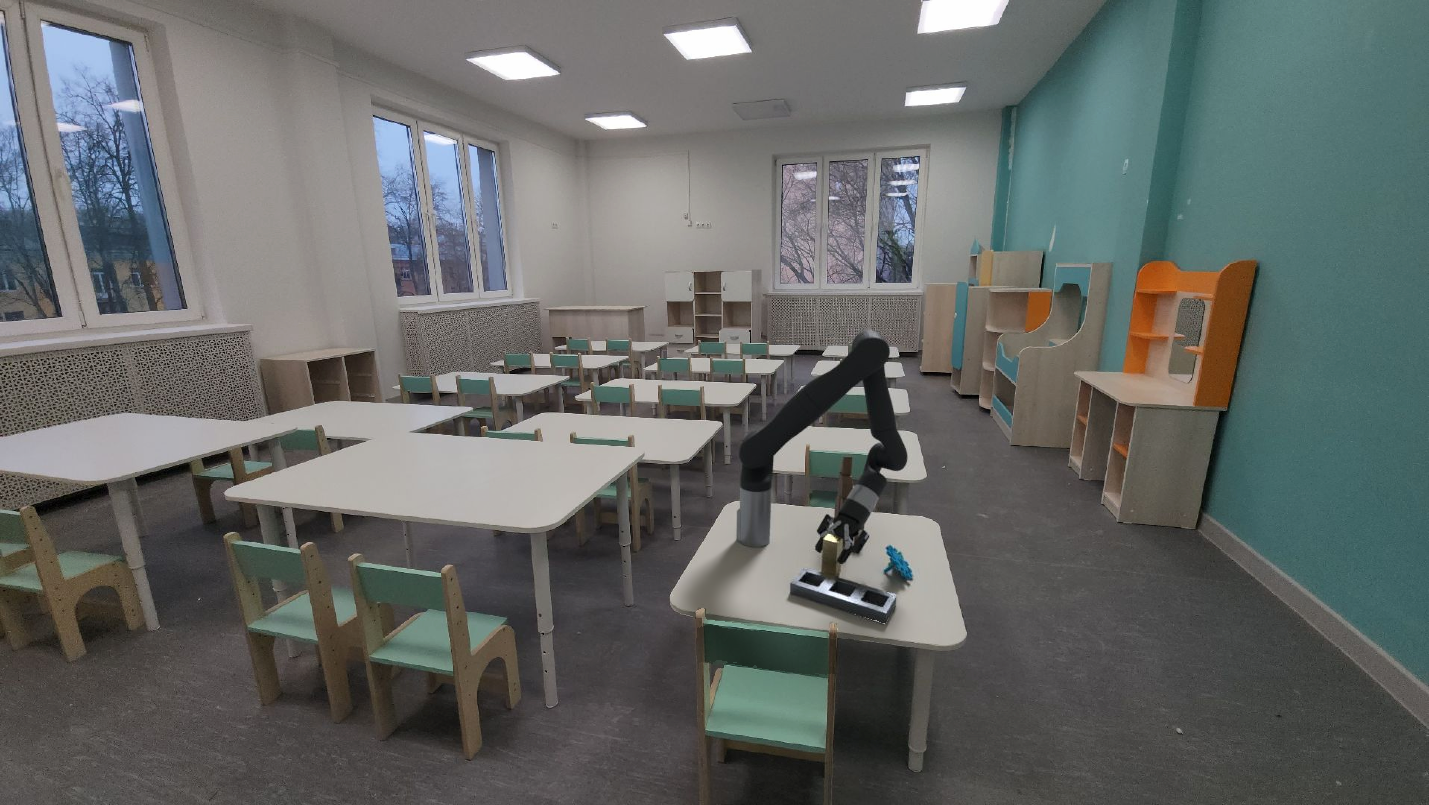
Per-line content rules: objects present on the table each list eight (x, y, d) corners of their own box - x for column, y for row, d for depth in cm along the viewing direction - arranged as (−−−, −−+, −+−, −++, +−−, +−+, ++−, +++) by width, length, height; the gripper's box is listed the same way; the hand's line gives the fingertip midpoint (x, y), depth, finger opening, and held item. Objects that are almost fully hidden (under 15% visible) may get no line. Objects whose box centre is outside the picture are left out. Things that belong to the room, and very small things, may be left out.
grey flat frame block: (789, 593, 145) (790, 582, 144) (804, 577, 152) (804, 567, 152) (885, 624, 133) (886, 613, 132) (895, 605, 140) (896, 594, 139)
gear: (913, 582, 147) (887, 550, 149) (895, 594, 149) (869, 562, 151) (916, 567, 157) (892, 537, 159) (899, 579, 160) (875, 549, 162)
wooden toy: (864, 545, 170) (870, 465, 164) (841, 544, 170) (846, 464, 165) (853, 522, 185) (858, 448, 179) (832, 521, 185) (837, 447, 180)
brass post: (821, 573, 155) (823, 539, 152) (826, 566, 158) (828, 533, 155) (835, 577, 152) (837, 543, 150) (840, 570, 156) (842, 537, 153)
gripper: (832, 490, 161) (801, 540, 156) (875, 507, 150) (843, 562, 145) (843, 503, 165) (814, 552, 161) (886, 520, 154) (855, 574, 150)
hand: (828, 556), depth 153 cm, fingers open, 7 cm apart
